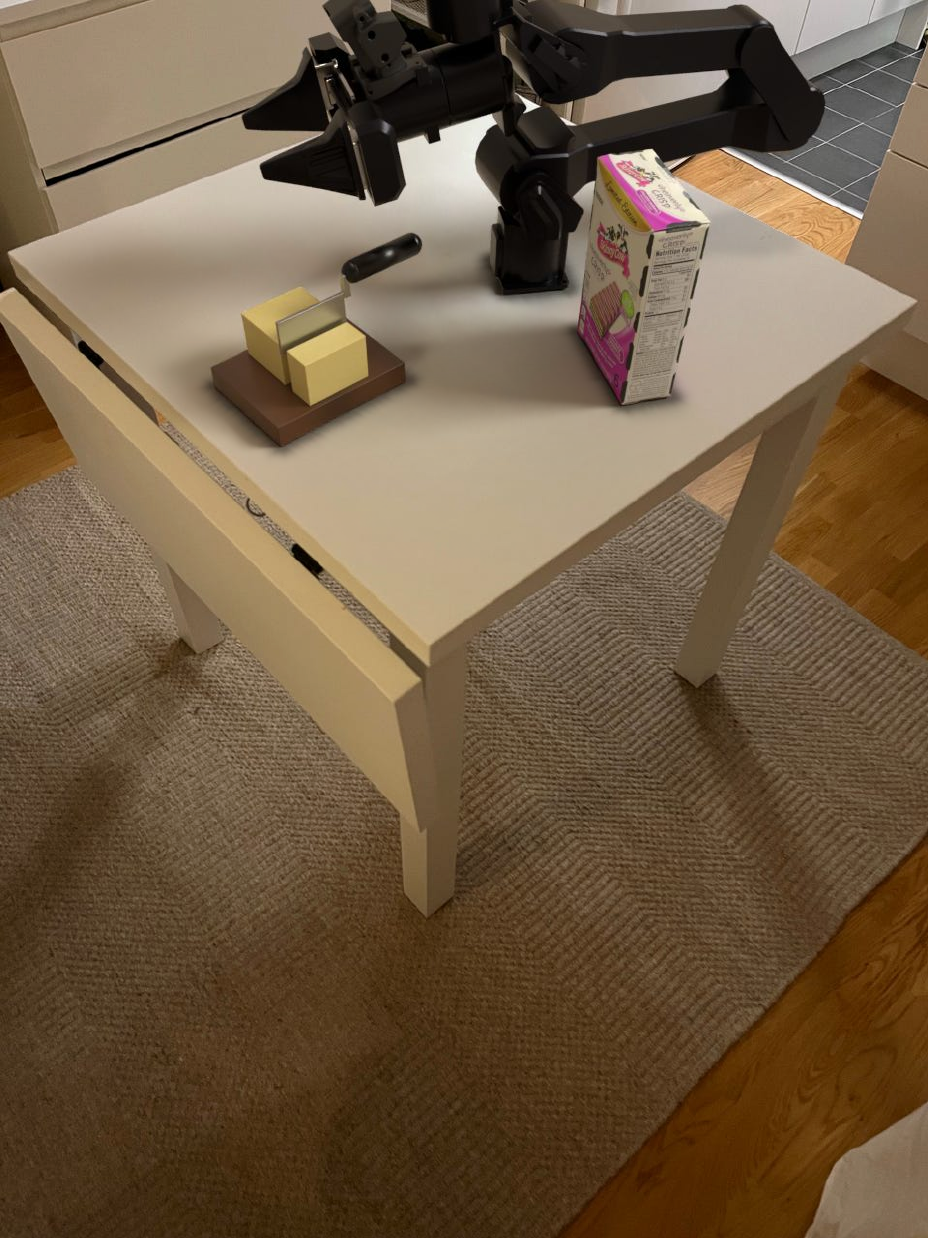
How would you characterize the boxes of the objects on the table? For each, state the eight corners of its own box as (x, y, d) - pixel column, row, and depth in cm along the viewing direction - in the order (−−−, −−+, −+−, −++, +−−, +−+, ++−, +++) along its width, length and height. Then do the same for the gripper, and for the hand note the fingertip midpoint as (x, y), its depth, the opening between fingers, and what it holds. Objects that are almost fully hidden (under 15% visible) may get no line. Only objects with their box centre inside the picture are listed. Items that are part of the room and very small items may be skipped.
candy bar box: (572, 331, 88) (594, 153, 75) (623, 322, 89) (654, 145, 76) (618, 409, 81) (651, 228, 68) (673, 399, 82) (715, 218, 69)
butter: (305, 326, 84) (300, 285, 81) (368, 376, 80) (365, 335, 77) (248, 353, 82) (240, 312, 79) (310, 406, 78) (304, 366, 75)
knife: (414, 283, 83) (412, 225, 79) (427, 292, 82) (426, 234, 78) (274, 349, 77) (265, 291, 73) (287, 360, 76) (278, 302, 72)
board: (336, 327, 88) (334, 308, 86) (405, 381, 83) (405, 362, 82) (214, 386, 82) (209, 367, 81) (281, 447, 78) (277, 428, 76)
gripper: (388, -62, 76) (199, -6, 75) (455, 19, 65) (233, 86, 64) (415, 83, 85) (246, 135, 84) (478, 177, 74) (284, 238, 73)
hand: (251, 146), depth 76 cm, fingers open, 9 cm apart
